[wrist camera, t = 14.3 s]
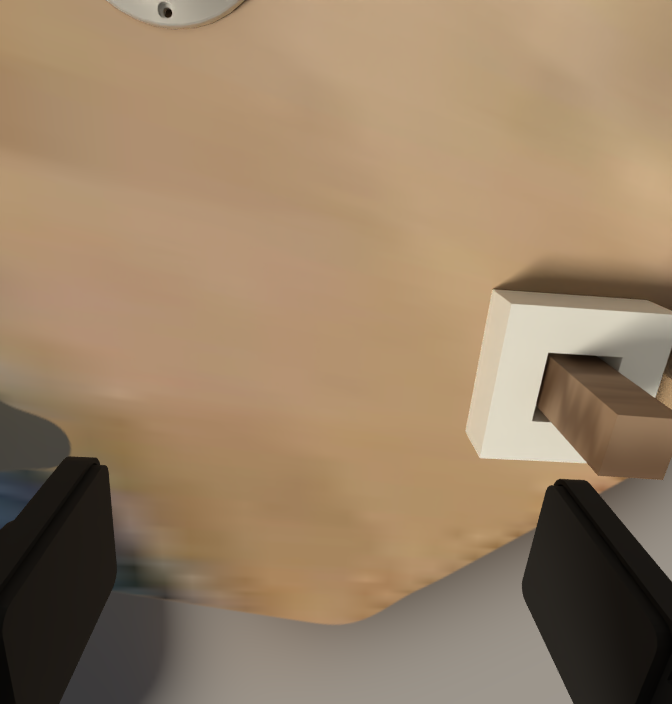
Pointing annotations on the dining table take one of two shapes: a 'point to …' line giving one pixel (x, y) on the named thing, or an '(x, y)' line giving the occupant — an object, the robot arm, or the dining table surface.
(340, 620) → the dining table surface
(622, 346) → the bore block
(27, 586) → the robot arm
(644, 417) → the walnut peg
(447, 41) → the dining table surface
